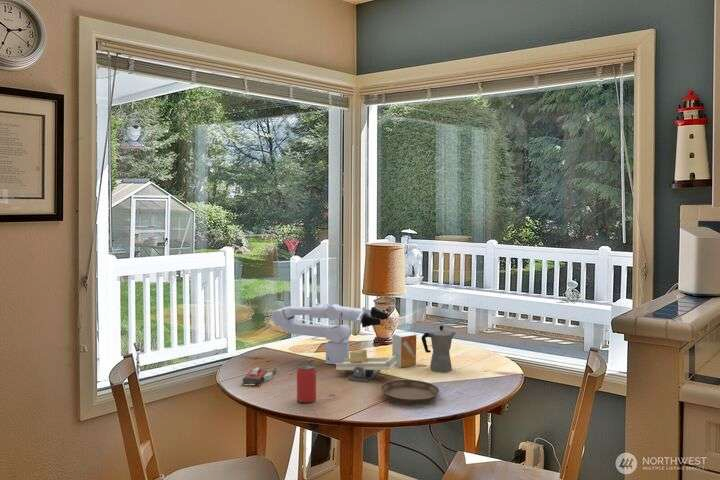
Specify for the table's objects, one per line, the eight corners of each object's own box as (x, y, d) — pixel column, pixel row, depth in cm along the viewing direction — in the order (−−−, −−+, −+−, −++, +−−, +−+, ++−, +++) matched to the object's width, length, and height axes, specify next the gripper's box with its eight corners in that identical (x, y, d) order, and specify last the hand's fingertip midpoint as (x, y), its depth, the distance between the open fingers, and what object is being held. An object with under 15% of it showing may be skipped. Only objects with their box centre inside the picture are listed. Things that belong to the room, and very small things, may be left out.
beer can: (297, 397, 211) (296, 363, 210) (316, 396, 211) (315, 363, 211) (296, 403, 204) (296, 369, 203) (316, 403, 205) (316, 368, 204)
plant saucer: (446, 392, 217) (446, 383, 217) (428, 411, 198) (429, 401, 198) (392, 385, 225) (393, 376, 225) (371, 402, 206) (371, 393, 206)
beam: (336, 369, 236) (335, 361, 236) (345, 363, 244) (344, 356, 244) (389, 369, 227) (388, 361, 227) (396, 363, 236) (395, 355, 236)
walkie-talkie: (263, 388, 222) (278, 372, 242) (263, 376, 222) (278, 361, 242) (240, 387, 223) (257, 371, 243) (240, 375, 223) (257, 360, 243)
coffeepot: (449, 364, 252) (450, 322, 250) (460, 370, 243) (461, 326, 241) (416, 368, 246) (416, 324, 245) (426, 374, 237) (427, 329, 236)
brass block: (351, 365, 235) (349, 352, 235) (355, 362, 240) (354, 349, 240) (362, 365, 234) (361, 352, 233) (367, 362, 238) (366, 349, 238)
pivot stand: (347, 379, 231) (347, 368, 231) (361, 369, 245) (361, 358, 244) (366, 382, 228) (366, 370, 228) (380, 371, 242) (380, 360, 241)
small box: (401, 368, 246) (401, 336, 245) (391, 364, 252) (392, 333, 250) (416, 365, 251) (416, 334, 250) (407, 361, 256) (407, 331, 255)
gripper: (346, 310, 243) (377, 315, 238) (360, 300, 256) (390, 304, 251) (346, 327, 244) (377, 332, 239) (360, 316, 257) (390, 320, 252)
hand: (383, 319), depth 245 cm, fingers open, 7 cm apart
